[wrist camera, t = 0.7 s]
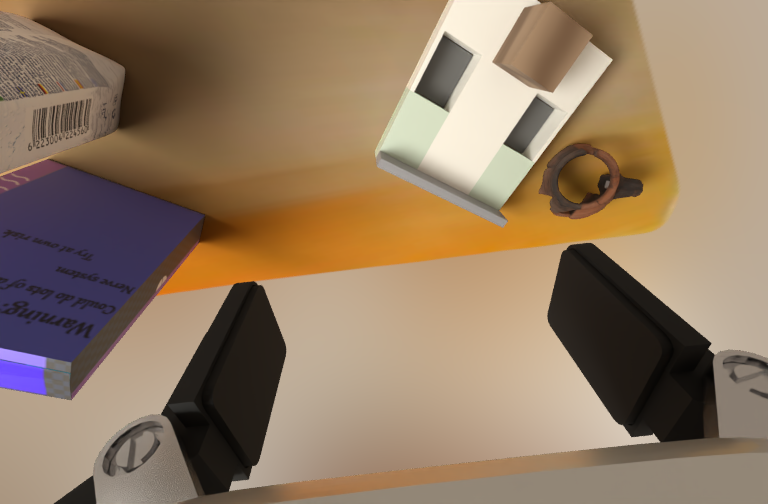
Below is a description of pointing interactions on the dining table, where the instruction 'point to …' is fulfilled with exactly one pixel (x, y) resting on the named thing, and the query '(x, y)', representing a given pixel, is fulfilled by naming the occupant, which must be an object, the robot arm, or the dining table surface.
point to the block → (542, 46)
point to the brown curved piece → (592, 203)
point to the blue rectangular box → (78, 271)
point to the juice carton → (51, 92)
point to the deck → (477, 111)
